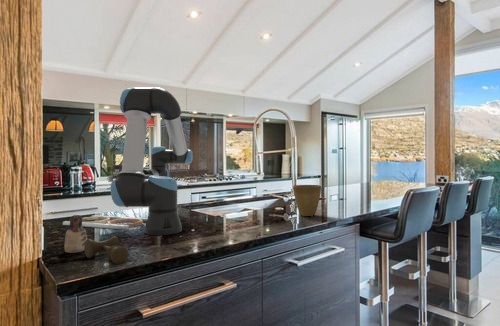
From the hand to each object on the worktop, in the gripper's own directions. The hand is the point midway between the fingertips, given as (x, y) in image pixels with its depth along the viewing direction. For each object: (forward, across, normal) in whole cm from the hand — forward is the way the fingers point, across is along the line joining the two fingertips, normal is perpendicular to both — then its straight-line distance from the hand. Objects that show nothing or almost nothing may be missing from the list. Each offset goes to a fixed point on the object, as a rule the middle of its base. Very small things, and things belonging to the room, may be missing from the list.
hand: (118, 179), depth 157 cm
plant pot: (-53, -77, -22) cm, 96 cm away
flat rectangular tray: (-4, +9, -22) cm, 24 cm away
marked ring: (-4, 0, -22) cm, 22 cm away
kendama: (+41, -30, -22) cm, 55 cm away
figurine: (+38, -14, -22) cm, 46 cm away
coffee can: (-4, 0, -8) cm, 9 cm away
